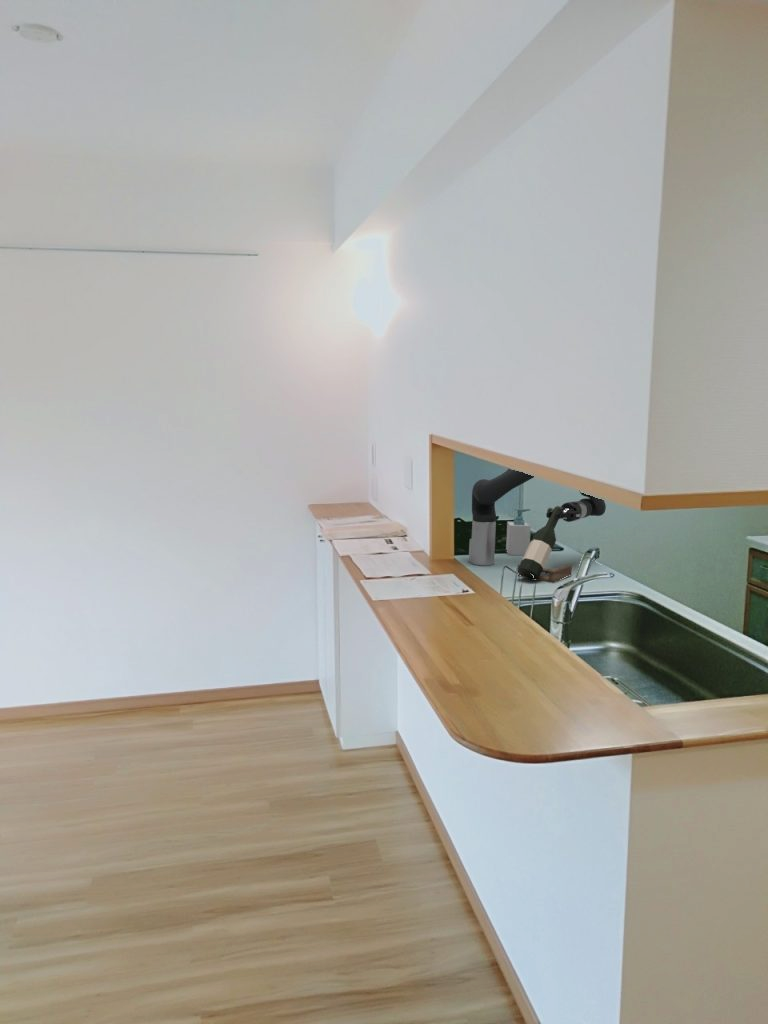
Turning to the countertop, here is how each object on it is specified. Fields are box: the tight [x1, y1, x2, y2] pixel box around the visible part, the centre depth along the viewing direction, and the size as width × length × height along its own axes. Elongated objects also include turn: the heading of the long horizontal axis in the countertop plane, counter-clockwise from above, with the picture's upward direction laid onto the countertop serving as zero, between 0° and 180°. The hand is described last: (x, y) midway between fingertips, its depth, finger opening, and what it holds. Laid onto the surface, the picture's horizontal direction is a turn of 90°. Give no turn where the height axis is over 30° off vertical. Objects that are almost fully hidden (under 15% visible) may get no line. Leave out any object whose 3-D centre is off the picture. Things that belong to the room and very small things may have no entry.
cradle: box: [517, 564, 573, 584], centre depth 296 cm, size 15×14×4 cm
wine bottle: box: [517, 505, 562, 581], centre depth 294 cm, size 8×8×30 cm
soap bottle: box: [505, 508, 532, 556], centre depth 332 cm, size 9×9×19 cm
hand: (552, 515), depth 296 cm, fingers closed on wine bottle, 3 cm apart
